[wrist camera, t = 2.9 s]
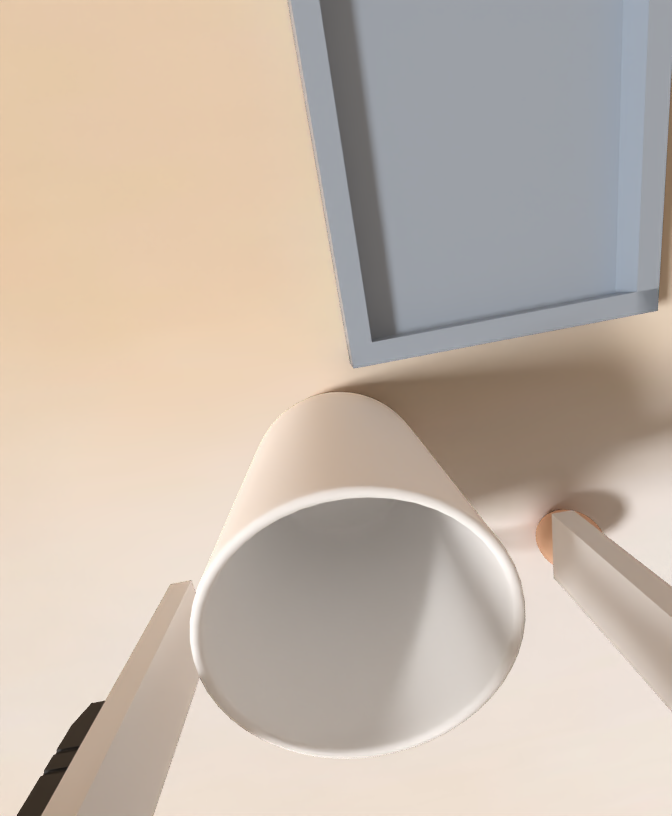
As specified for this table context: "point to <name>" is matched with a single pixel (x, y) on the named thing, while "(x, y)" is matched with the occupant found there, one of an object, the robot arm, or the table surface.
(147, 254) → the table surface
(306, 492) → the mug
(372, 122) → the tray
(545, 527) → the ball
